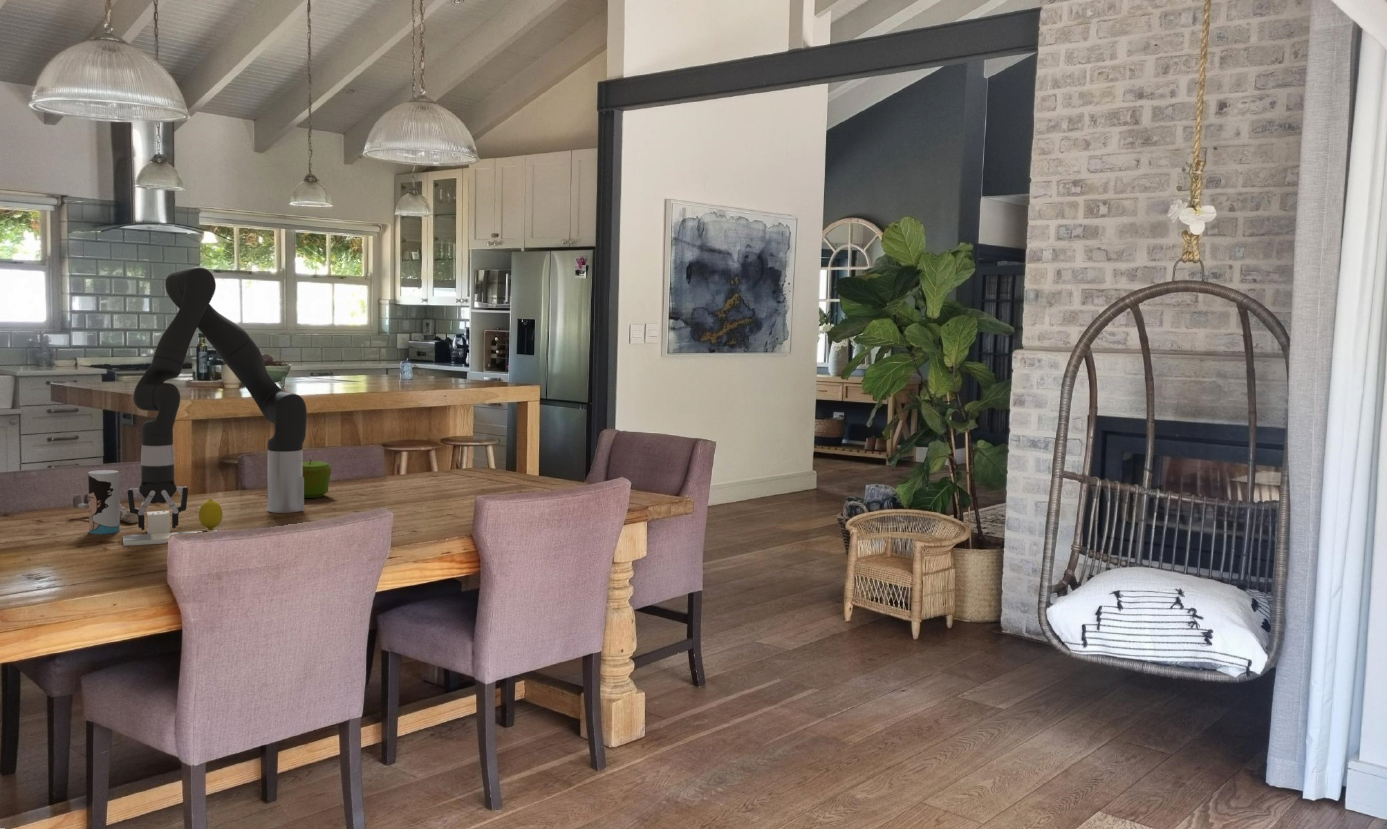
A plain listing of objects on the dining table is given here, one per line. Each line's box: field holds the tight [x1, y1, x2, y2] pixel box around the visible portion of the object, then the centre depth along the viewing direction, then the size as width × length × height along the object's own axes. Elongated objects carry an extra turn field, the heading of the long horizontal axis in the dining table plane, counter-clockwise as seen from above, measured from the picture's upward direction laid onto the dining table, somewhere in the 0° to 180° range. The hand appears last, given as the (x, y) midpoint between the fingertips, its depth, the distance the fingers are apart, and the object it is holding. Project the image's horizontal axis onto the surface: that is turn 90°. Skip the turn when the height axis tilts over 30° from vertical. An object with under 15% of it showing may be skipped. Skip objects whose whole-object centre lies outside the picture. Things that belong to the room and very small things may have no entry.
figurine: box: [72, 492, 138, 524], centre depth 297 cm, size 6×6×20 cm
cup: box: [87, 469, 121, 535], centre depth 282 cm, size 7×7×15 cm
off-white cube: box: [146, 510, 171, 534], centre depth 283 cm, size 5×5×5 cm
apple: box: [303, 459, 332, 499], centre depth 341 cm, size 12×12×11 cm
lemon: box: [198, 498, 223, 531], centre depth 288 cm, size 6×6×8 cm
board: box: [122, 529, 218, 547], centre depth 275 cm, size 24×7×1 cm, turn 117°
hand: (158, 528), depth 283 cm, fingers open, 6 cm apart
